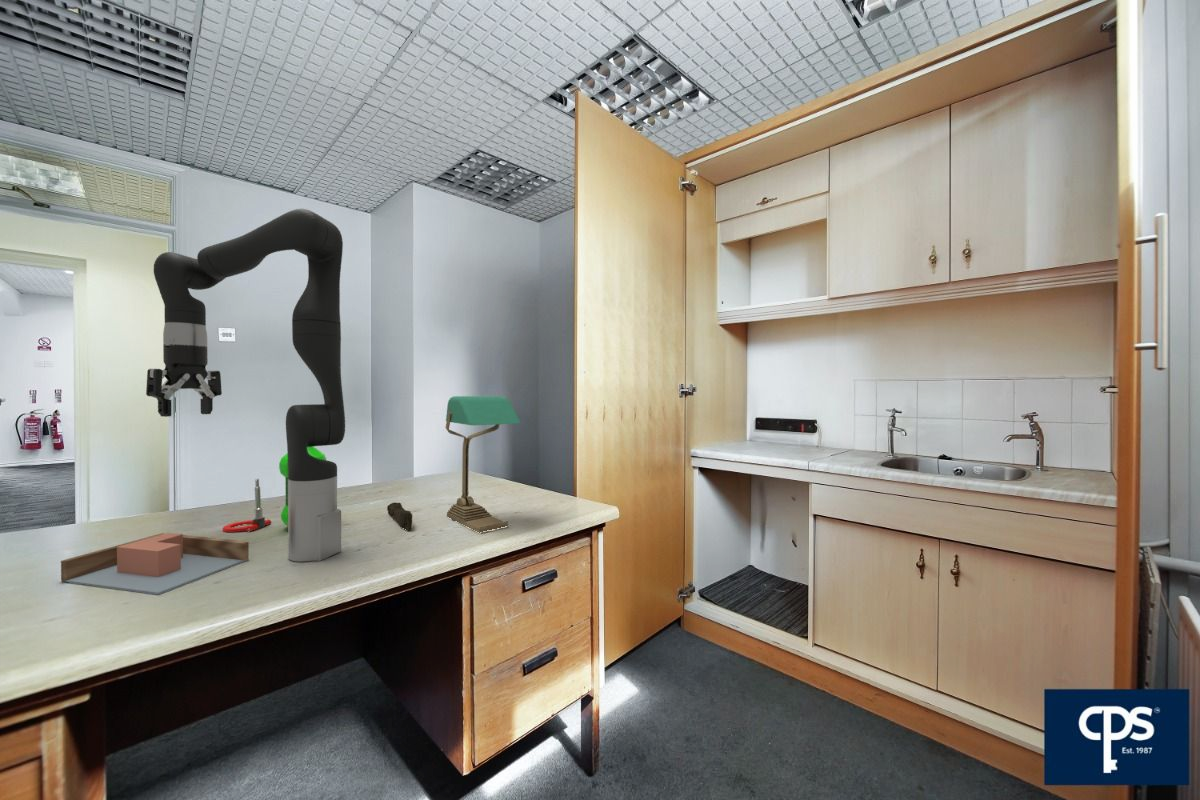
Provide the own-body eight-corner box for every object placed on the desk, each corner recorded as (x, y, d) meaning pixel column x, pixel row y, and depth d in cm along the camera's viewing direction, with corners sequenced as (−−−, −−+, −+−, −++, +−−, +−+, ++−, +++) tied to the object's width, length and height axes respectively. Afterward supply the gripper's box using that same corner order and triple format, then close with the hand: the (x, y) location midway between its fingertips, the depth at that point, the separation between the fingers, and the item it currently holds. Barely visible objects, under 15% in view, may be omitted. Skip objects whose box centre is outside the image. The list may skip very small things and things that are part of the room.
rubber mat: (248, 560, 99) (248, 558, 99) (158, 594, 82) (158, 592, 82) (163, 550, 103) (163, 548, 103) (61, 581, 87) (61, 579, 87)
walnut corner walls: (248, 560, 99) (248, 541, 99) (158, 594, 82) (157, 572, 82) (163, 550, 103) (163, 532, 103) (61, 581, 87) (60, 560, 87)
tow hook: (213, 534, 117) (249, 533, 116) (211, 483, 117) (246, 482, 116) (241, 524, 125) (274, 523, 125) (239, 476, 125) (272, 476, 124)
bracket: (167, 555, 99) (167, 532, 99) (206, 559, 98) (206, 536, 97) (117, 572, 91) (116, 546, 90) (158, 577, 89) (158, 551, 89)
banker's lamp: (485, 510, 141) (486, 395, 140) (522, 526, 126) (524, 397, 125) (434, 519, 131) (435, 395, 130) (469, 538, 115) (470, 397, 114)
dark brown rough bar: (387, 516, 134) (387, 500, 134) (401, 514, 136) (401, 498, 136) (398, 534, 118) (398, 516, 118) (414, 532, 120) (414, 514, 120)
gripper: (204, 347, 113) (205, 413, 114) (136, 341, 99) (137, 416, 100) (230, 347, 112) (230, 414, 112) (163, 341, 98) (164, 417, 98)
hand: (186, 415), depth 106 cm, fingers open, 8 cm apart
